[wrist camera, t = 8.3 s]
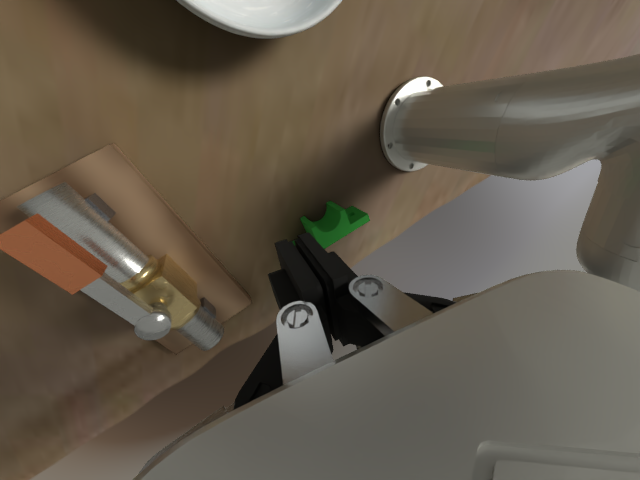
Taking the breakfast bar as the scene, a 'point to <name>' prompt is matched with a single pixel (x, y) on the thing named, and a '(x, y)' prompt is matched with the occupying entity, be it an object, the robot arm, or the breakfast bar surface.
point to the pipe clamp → (334, 224)
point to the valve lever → (81, 274)
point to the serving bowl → (262, 15)
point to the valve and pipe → (129, 261)
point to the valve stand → (140, 227)
